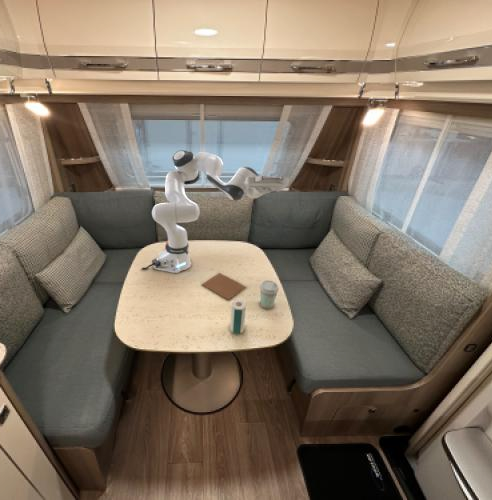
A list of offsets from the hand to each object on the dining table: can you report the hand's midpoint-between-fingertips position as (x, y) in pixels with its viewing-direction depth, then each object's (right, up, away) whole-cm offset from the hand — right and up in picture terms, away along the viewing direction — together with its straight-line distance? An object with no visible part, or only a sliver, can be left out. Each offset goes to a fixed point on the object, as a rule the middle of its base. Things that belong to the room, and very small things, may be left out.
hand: (272, 177), depth 117 cm
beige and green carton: (-16, -66, 0) cm, 68 cm away
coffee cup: (0, -59, +13) cm, 60 cm away
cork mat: (-20, -51, +25) cm, 60 cm away
